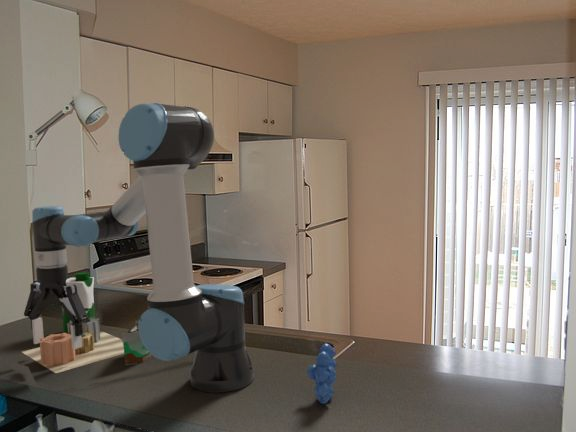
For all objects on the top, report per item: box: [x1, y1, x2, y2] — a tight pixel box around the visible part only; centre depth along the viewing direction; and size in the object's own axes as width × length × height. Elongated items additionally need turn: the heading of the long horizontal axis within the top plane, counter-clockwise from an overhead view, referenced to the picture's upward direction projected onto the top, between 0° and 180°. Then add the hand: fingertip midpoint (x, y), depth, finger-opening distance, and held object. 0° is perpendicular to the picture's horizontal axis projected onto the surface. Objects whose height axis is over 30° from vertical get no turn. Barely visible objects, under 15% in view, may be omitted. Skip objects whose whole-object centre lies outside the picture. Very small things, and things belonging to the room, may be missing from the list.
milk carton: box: [61, 271, 96, 334], centre depth 170 cm, size 9×9×20 cm
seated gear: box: [67, 317, 101, 343], centre depth 161 cm, size 8×8×6 cm
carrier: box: [21, 331, 124, 374], centre depth 154 cm, size 24×24×6 cm
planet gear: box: [39, 332, 76, 366], centre depth 146 cm, size 8×8×6 cm
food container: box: [121, 320, 152, 366], centre depth 145 cm, size 12×6×10 cm, turn 179°
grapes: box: [306, 342, 338, 405], centre depth 120 cm, size 12×7×12 cm, turn 164°
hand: (57, 345), depth 146 cm, fingers open, 13 cm apart
